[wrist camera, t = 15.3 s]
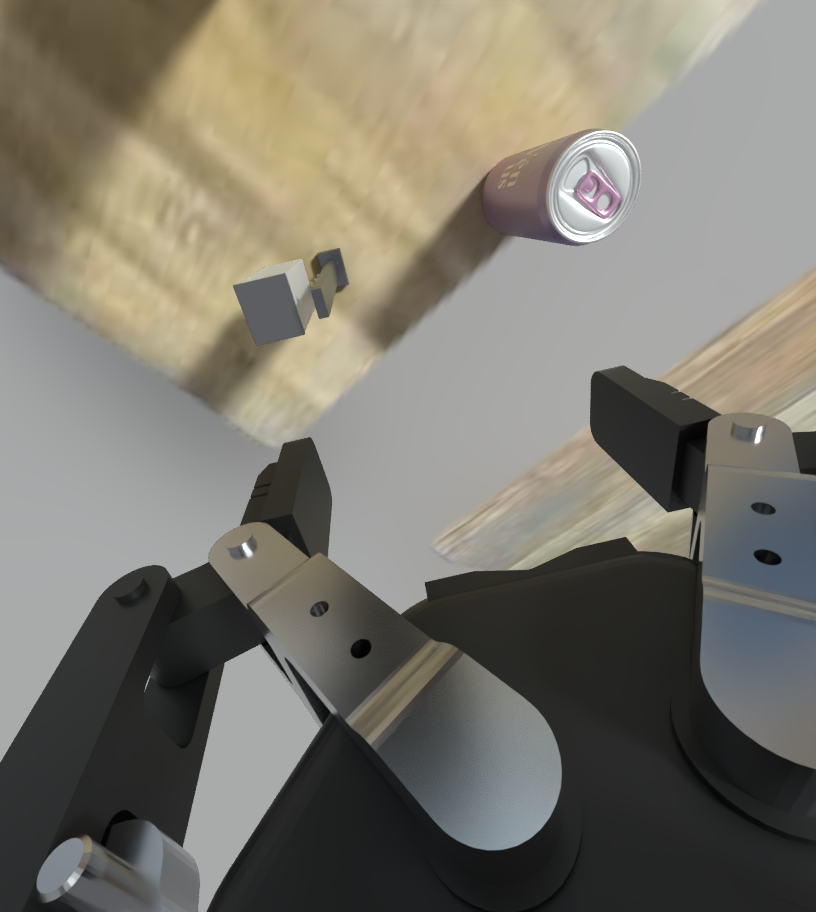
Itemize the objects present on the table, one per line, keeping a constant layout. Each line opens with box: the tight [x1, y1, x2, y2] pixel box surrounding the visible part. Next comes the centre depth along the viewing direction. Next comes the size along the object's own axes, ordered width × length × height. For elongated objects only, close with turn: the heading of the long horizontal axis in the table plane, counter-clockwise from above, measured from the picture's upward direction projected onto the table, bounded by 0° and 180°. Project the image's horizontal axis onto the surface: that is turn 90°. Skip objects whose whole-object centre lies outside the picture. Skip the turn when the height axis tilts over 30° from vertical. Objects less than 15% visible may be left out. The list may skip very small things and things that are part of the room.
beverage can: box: [482, 129, 642, 246], centre depth 31 cm, size 6×6×15 cm
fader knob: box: [233, 259, 315, 346], centre depth 30 cm, size 3×4×9 cm
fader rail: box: [310, 248, 349, 319], centre depth 32 cm, size 2×3×17 cm, turn 12°
